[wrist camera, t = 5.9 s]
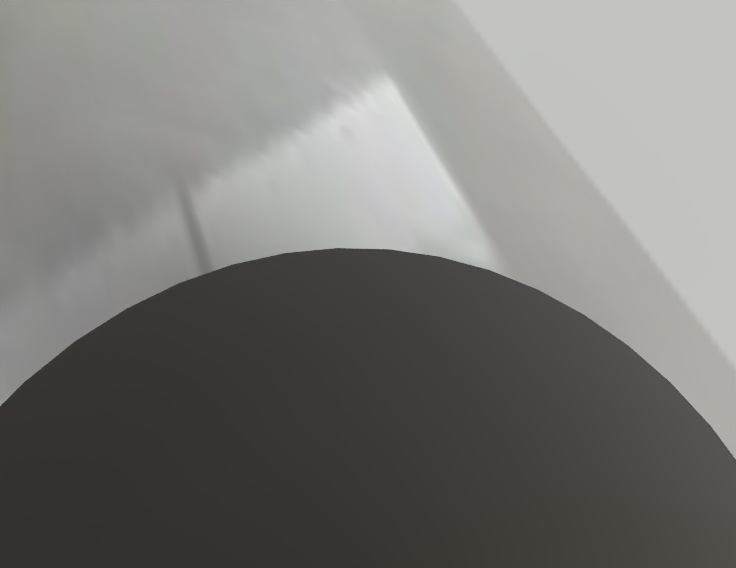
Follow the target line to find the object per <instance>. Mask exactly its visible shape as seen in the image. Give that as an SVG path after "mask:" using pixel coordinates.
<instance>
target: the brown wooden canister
mask: <svg viewBox="0 0 736 568" xmlns="http://www.w3.org/2000/svg"><path fill="white" fill-rule="evenodd" d="M0 568H736V459H735V458H734V457H733V455H732V454H731V453H730V451H729V450H728V449H727V447H726V446H725V445H724V443H723V442H722V441H721V439H720V438H719V437H718V435H717V434H716V433H715V431H714V430H713V429H712V427H711V426H710V425H709V424H708V423H707V422H706V421H705V419H704V418H703V417H702V416H701V415H700V414H699V413H698V412H697V411H696V410H695V409H694V408H693V406H692V405H691V404H690V403H689V402H688V401H687V400H686V399H685V398H684V397H683V396H682V395H681V393H680V392H679V391H678V390H677V389H676V388H675V387H674V386H673V385H672V384H671V383H670V382H669V381H668V380H667V379H666V378H665V377H663V376H662V375H661V374H660V373H659V372H658V371H657V370H655V369H654V368H653V367H652V366H651V365H650V364H649V363H647V362H646V361H645V360H644V359H643V358H642V357H641V356H639V355H638V354H637V353H636V352H635V351H634V350H632V349H631V348H630V347H629V346H628V345H626V344H625V343H624V342H622V341H621V340H619V339H618V338H616V337H615V336H613V335H612V334H611V333H609V332H608V331H606V330H605V329H603V328H602V327H601V326H599V325H598V324H596V323H595V322H593V321H592V320H591V319H589V318H588V317H586V316H585V315H583V314H581V313H580V312H578V311H576V310H574V309H572V308H570V307H568V306H567V305H565V304H563V303H561V302H559V301H557V300H556V299H554V298H552V297H550V296H548V295H546V294H544V293H543V292H541V291H539V290H537V289H535V288H532V287H530V286H527V285H525V284H522V283H520V282H517V281H515V280H512V279H510V278H507V277H505V276H502V275H500V274H497V273H495V272H492V271H490V270H486V269H482V268H479V267H475V266H471V265H468V264H464V263H460V262H456V261H453V260H449V259H445V258H442V257H437V256H430V255H423V254H416V253H409V252H402V251H395V250H387V249H345V248H335V249H325V250H314V251H304V252H294V253H284V254H280V255H275V256H271V257H266V258H261V259H257V260H252V261H248V262H243V263H239V264H234V265H231V266H228V267H225V268H222V269H219V270H216V271H213V272H210V273H208V274H205V275H202V276H199V277H196V278H193V279H190V280H187V281H184V282H182V283H179V284H177V285H175V286H173V287H171V288H169V289H167V290H164V291H162V292H160V293H158V294H156V295H154V296H152V297H150V298H148V299H146V300H144V301H142V302H140V303H138V304H136V305H133V306H131V307H129V308H127V309H126V310H124V311H122V312H121V313H119V314H118V315H116V316H115V317H113V318H111V319H110V320H108V321H107V322H105V323H104V324H102V325H100V326H99V327H97V328H96V329H94V330H93V331H91V332H89V333H88V334H86V335H85V336H83V337H81V338H80V339H78V340H77V341H75V342H74V343H73V344H71V345H70V346H69V347H68V348H66V349H65V350H64V351H63V352H61V353H60V354H59V355H58V356H57V357H55V358H54V359H53V360H52V361H50V362H49V363H48V364H47V365H45V366H44V367H43V368H42V369H40V370H39V371H38V372H37V373H35V374H34V375H33V376H32V377H30V378H29V379H28V380H27V381H25V382H24V383H23V384H22V385H21V386H20V387H19V388H18V389H17V390H16V391H15V392H14V393H13V394H12V395H11V396H10V397H9V398H8V399H7V400H6V401H5V402H4V403H3V404H2V405H1V406H0Z"/></svg>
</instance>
